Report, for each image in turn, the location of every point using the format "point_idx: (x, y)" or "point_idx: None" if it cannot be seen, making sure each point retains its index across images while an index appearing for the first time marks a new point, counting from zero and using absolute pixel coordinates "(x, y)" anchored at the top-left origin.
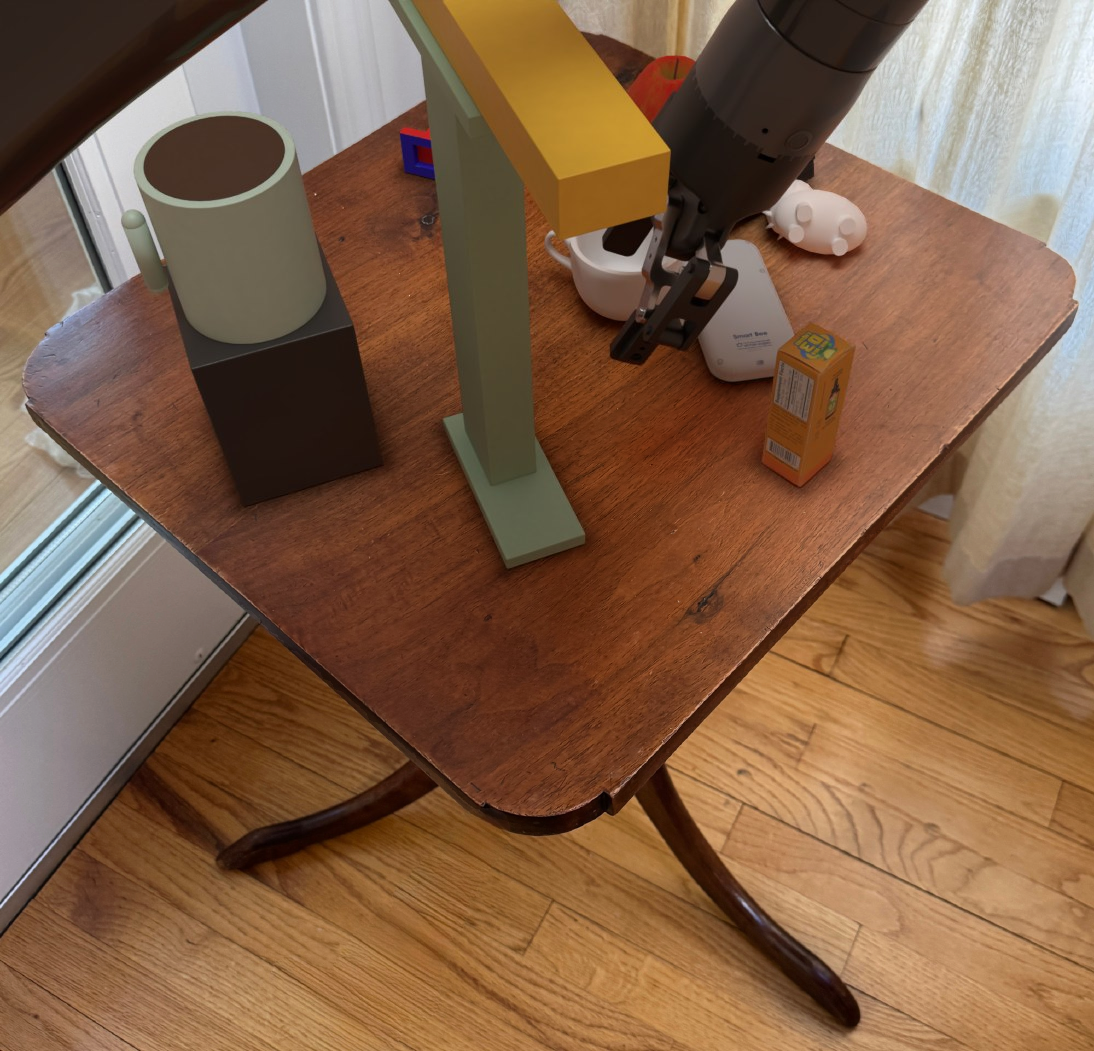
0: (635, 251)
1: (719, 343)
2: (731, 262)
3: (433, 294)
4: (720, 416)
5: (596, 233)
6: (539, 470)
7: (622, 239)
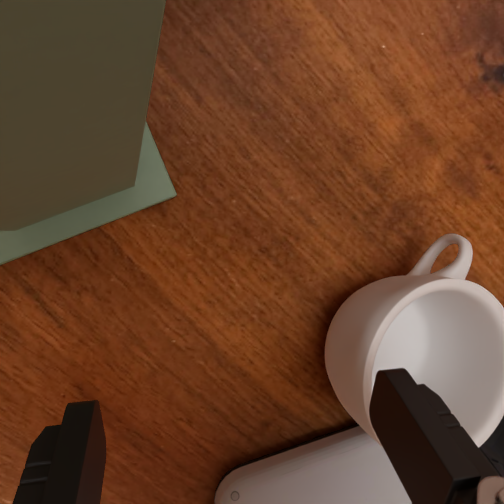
0: (375, 432)
1: (268, 492)
2: None
3: (385, 80)
4: (160, 483)
5: (465, 312)
6: (19, 235)
7: (392, 420)
